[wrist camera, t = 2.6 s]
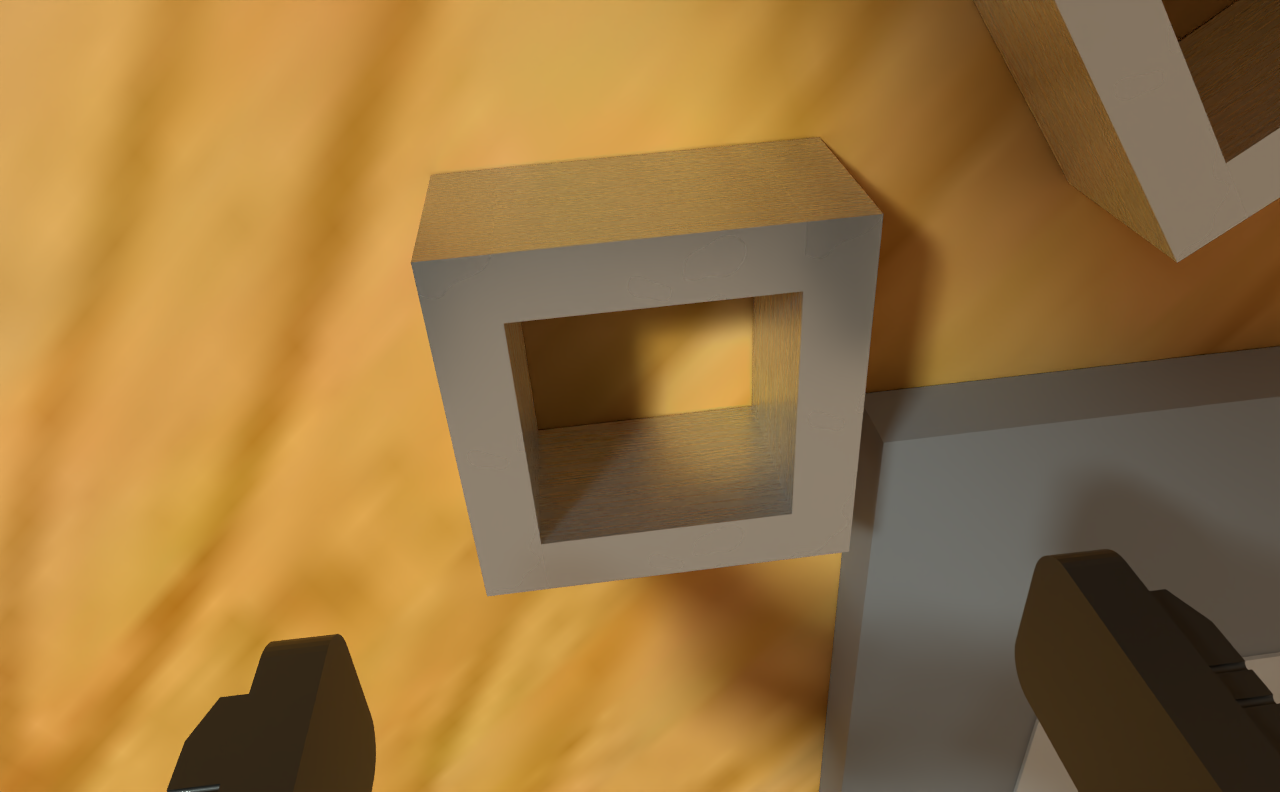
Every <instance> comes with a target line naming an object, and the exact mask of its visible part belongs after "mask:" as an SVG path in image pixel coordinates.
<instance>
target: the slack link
mask: <svg viewBox="0 0 1280 792" xmlns="http://www.w3.org/2000/svg"><path fill="white" fill-rule="evenodd" d="M973 1H974V3H975V5H976V7H977V9H978V11H979V13H980V15H981V17H982V18H983V20H984V22H985V24H986V26H987V28H988V30H989V32H990V34H991V36H992V38H993V39H994V41H995V43H996V45H997V47H998V49H999V51H1000V53H1001V55H1002V57H1003V59H1004V61H1005V62H1006V64H1007V66H1008V68H1009V70H1010V72H1011V74H1012V76H1013V78H1014V80H1015V82H1016V83H1017V85H1018V87H1019V89H1020V91H1021V93H1022V95H1023V97H1024V99H1025V101H1026V103H1027V105H1028V106H1029V108H1030V110H1031V112H1032V114H1033V116H1034V118H1035V120H1036V122H1037V124H1038V126H1039V128H1040V129H1041V131H1042V133H1043V135H1044V137H1045V139H1046V141H1047V143H1048V145H1049V147H1050V149H1051V150H1052V152H1053V154H1054V156H1055V158H1056V160H1057V162H1058V164H1059V166H1060V168H1061V170H1062V172H1063V173H1064V175H1065V177H1066V179H1067V181H1068V183H1069V184H1071V185H1072V186H1073V187H1075V188H1076V189H1078V190H1079V191H1080V192H1082V193H1083V194H1084V195H1086V196H1087V197H1088V198H1090V199H1091V200H1093V201H1094V202H1095V203H1097V204H1098V205H1099V206H1101V207H1102V208H1103V209H1105V210H1106V211H1108V212H1109V213H1110V214H1112V215H1113V216H1114V217H1116V218H1117V219H1118V220H1120V221H1121V222H1123V223H1124V224H1125V225H1127V226H1128V227H1129V228H1131V229H1132V230H1133V231H1135V232H1136V233H1137V234H1139V235H1140V236H1142V237H1143V238H1144V239H1146V240H1147V241H1148V242H1150V243H1151V244H1152V245H1154V246H1155V247H1157V248H1158V249H1159V250H1161V251H1162V252H1163V253H1165V254H1166V255H1167V256H1169V257H1170V258H1172V259H1173V260H1174V261H1176V262H1177V263H1178V262H1179V261H1181V260H1182V259H1184V258H1185V257H1187V256H1189V255H1190V254H1192V253H1193V252H1195V251H1196V250H1198V249H1200V248H1201V247H1203V246H1204V245H1206V244H1208V243H1209V242H1211V241H1212V240H1214V239H1215V238H1217V237H1219V236H1220V235H1222V234H1223V233H1225V232H1226V231H1228V230H1230V229H1231V228H1233V227H1234V226H1236V225H1237V224H1239V223H1241V222H1242V221H1244V220H1245V219H1247V218H1248V217H1250V216H1252V215H1253V214H1255V213H1256V212H1258V211H1259V210H1261V209H1263V208H1264V207H1266V206H1267V205H1269V204H1270V203H1272V202H1274V201H1275V200H1277V199H1278V198H1280V0H1238V1H1236V2H1235V3H1233V4H1232V5H1230V6H1229V7H1228V8H1226V9H1225V10H1223V11H1222V12H1221V13H1219V14H1218V15H1216V16H1215V17H1214V18H1212V19H1211V20H1209V21H1208V22H1207V23H1205V24H1204V25H1202V26H1201V27H1199V28H1198V29H1197V30H1195V31H1194V32H1192V33H1191V34H1190V35H1188V36H1187V37H1185V38H1184V39H1183V40H1181V41H1180V42H1178V41H1177V38H1176V36H1175V33H1174V31H1173V28H1172V26H1171V23H1170V20H1169V18H1168V15H1167V13H1166V10H1165V8H1164V5H1163V3H1162V0H973Z"/></svg>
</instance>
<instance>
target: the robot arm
mask: <svg viewBox="0 0 1280 792" xmlns="http://www.w3.org/2000/svg"><path fill="white" fill-rule="evenodd" d="M1015 665H1016V670H1017V675H1018V679H1019V682H1020V685H1021V688H1022V690H1023V693H1024V695H1025V697H1026V699H1027V701H1028V702H1029V704H1030V706H1031V708H1032V710H1033V711H1034V713H1035V715H1036V717H1037V719H1038V720H1039V722H1040V724H1041V726H1042V728H1043V729H1044V731H1045V733H1046V735H1047V736H1048V738H1049V740H1050V742H1051V744H1052V745H1053V747H1054V749H1055V751H1056V753H1057V754H1058V756H1059V758H1060V760H1061V762H1062V763H1063V765H1064V767H1065V769H1066V771H1067V772H1068V774H1069V776H1070V778H1071V779H1072V781H1073V783H1074V785H1075V787H1076V788H1077V790H1078V792H1280V703H1278V704H1277V703H1276V702H1275V701H1274V699H1273V693H1272V692H1271V691H1270V690H1269V689H1268V687H1267V686H1266V685H1265V684H1264V683H1263V682H1262V680H1261V679H1260V678H1259V677H1258V676H1257V674H1256V673H1255V672H1254V671H1253V670H1252V669H1250V670H1248V669H1247V668H1246V665H1245V660H1244V659H1243V658H1242V657H1241V655H1240V654H1239V653H1238V652H1237V651H1236V649H1235V648H1234V647H1233V646H1232V645H1231V643H1230V642H1229V641H1228V640H1227V639H1226V637H1225V636H1224V635H1223V634H1222V633H1221V632H1220V630H1219V629H1218V628H1217V627H1216V626H1215V624H1214V623H1213V622H1212V621H1211V620H1209V619H1208V618H1206V617H1205V616H1204V615H1202V614H1201V613H1199V612H1198V611H1196V610H1195V609H1193V608H1192V607H1191V606H1189V605H1188V604H1186V603H1185V602H1183V601H1182V600H1181V599H1179V598H1178V597H1176V596H1175V595H1173V594H1172V593H1171V592H1169V591H1168V590H1166V589H1162V590H1154V591H1149V590H1148V589H1147V587H1146V586H1145V585H1144V584H1143V582H1142V581H1141V580H1140V579H1139V577H1138V576H1137V575H1136V574H1135V572H1134V571H1133V570H1132V568H1131V567H1130V566H1129V565H1128V563H1127V562H1126V561H1125V560H1124V559H1123V558H1122V557H1121V556H1120V555H1119V554H1118V553H1117V552H1115V551H1113V550H1110V549H1099V550H1091V551H1082V552H1073V553H1064V554H1056V555H1047V556H1043V557H1041V558H1040V559H1039V560H1038V562H1037V563H1036V566H1035V569H1034V572H1033V576H1032V580H1031V584H1030V588H1029V592H1028V595H1027V599H1026V603H1025V607H1024V611H1023V615H1022V618H1021V622H1020V626H1019V630H1018V634H1017V638H1016V642H1015ZM375 762H376V744H375V732H374V725H373V721H372V717H371V714H370V711H369V708H368V705H367V702H366V699H365V696H364V693H363V691H362V688H361V685H360V682H359V679H358V676H357V673H356V670H355V667H354V665H353V662H352V659H351V656H350V653H349V650H348V647H347V645H346V642H345V640H344V638H343V637H342V636H341V635H339V634H334V635H326V636H317V637H308V638H299V639H291V640H282V641H273V642H270V643H269V644H268V645H267V646H266V647H265V649H264V651H263V653H262V655H261V658H260V661H259V664H258V667H257V670H256V674H255V677H254V680H253V683H252V686H251V689H250V692H249V694H245V695H236V696H228V697H220V698H219V699H218V701H217V702H216V703H215V704H214V706H213V707H212V708H211V709H210V711H209V712H208V713H207V714H206V716H205V717H204V718H203V719H202V721H201V722H200V723H199V724H198V726H197V727H196V728H195V729H194V731H193V732H192V733H191V734H190V736H189V737H188V738H187V739H186V741H185V743H184V745H183V748H182V751H181V753H180V756H179V759H178V762H177V764H176V767H175V770H174V772H173V775H172V778H171V780H170V783H169V786H168V788H167V792H372V786H373V780H374V773H375Z"/></svg>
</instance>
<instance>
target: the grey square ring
mask: <svg viewBox="0 0 1280 792" xmlns="http://www.w3.org/2000/svg"><path fill="white" fill-rule="evenodd" d="M882 223H883V213H882V211H881V210H880V209H879V208H878V207H877V206H876V204H875V203H874V202H873V201H872V200H871V198H870V197H869V196H868V195H867V194H866V192H865V191H864V190H863V189H862V188H861V186H860V185H859V184H858V183H857V182H856V180H855V179H854V178H853V177H852V176H851V174H850V173H849V172H848V171H847V170H846V168H845V167H844V166H843V165H842V164H841V163H840V161H839V160H838V159H837V158H836V157H835V155H834V154H833V153H832V152H831V151H830V149H829V148H828V147H827V146H826V145H825V143H824V142H823V141H822V140H821V139H820V137H816V138H806V139H796V140H786V141H775V142H765V143H755V144H745V145H734V146H724V147H714V148H703V149H693V150H683V151H673V152H662V153H652V154H642V155H632V156H621V157H611V158H601V159H590V160H580V161H570V162H560V163H549V164H539V165H529V166H519V167H508V168H498V169H488V170H478V171H467V172H457V173H447V174H436V175H431V177H430V181H429V186H428V190H427V194H426V199H425V203H424V207H423V212H422V216H421V221H420V225H419V229H418V234H417V238H416V243H415V247H414V251H413V256H412V260H411V265H412V269H413V273H414V278H415V282H416V287H417V291H418V295H419V300H420V304H421V308H422V313H423V317H424V322H425V326H426V330H427V335H428V339H429V343H430V348H431V352H432V357H433V361H434V365H435V370H436V374H437V379H438V383H439V387H440V392H441V396H442V400H443V405H444V409H445V414H446V418H447V422H448V427H449V431H450V435H451V440H452V444H453V449H454V453H455V457H456V462H457V466H458V470H459V475H460V479H461V484H462V488H463V492H464V497H465V501H466V506H467V510H468V514H469V519H470V523H471V527H472V532H473V536H474V541H475V545H476V549H477V554H478V558H479V562H480V567H481V571H482V576H483V580H484V584H485V589H486V593H487V596H494V595H502V594H510V593H518V592H526V591H534V590H542V589H550V588H558V587H567V586H575V585H583V584H591V583H599V582H607V581H615V580H623V579H631V578H639V577H647V576H655V575H664V574H672V573H680V572H688V571H696V570H704V569H712V568H720V567H728V566H736V565H744V564H752V563H761V562H769V561H777V560H785V559H793V558H801V557H809V556H817V555H825V554H833V553H841V552H849V547H850V537H851V527H852V518H853V508H854V498H855V488H856V478H857V469H858V459H859V449H860V439H861V429H862V420H863V410H864V400H865V390H866V380H867V371H868V361H869V351H870V341H871V331H872V322H873V312H874V302H875V292H876V282H877V273H878V263H879V253H880V243H881V233H882ZM746 297H754V312H753V383H752V406H748V407H739V408H730V409H721V410H713V411H704V412H695V413H686V414H678V415H669V416H660V417H651V418H642V419H634V420H625V421H616V422H607V423H598V424H590V425H581V426H572V427H563V428H555V429H546V430H538V427H537V420H536V414H535V407H534V401H533V395H532V388H531V382H530V376H529V369H528V363H527V357H526V350H525V344H524V337H523V331H522V325H521V321H531V320H540V319H550V318H559V317H568V316H578V315H587V314H596V313H606V312H615V311H624V310H634V309H643V308H652V307H662V306H671V305H680V304H690V303H699V302H708V301H718V300H727V299H736V298H746Z"/></svg>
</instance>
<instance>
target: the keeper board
mask: <svg viewBox="0 0 1280 792" xmlns="http://www.w3.org/2000/svg"><path fill="white" fill-rule="evenodd" d="M1099 549H1110V550H1113V551H1115V552H1117V553H1118V554H1119V555H1120V556H1121V557H1122V558H1123V559H1124V560H1125V561H1126V562H1127V563H1128V565H1129V566H1130V567H1131V568H1132V570H1133V571H1134V572H1135V574H1136V575H1137V576H1138V577H1139V579H1140V580H1141V581H1142V582H1143V584H1144V585H1145V586H1146V587H1147V589H1148V590H1149V591H1154V590H1162V589H1166V590H1168V591H1169V592H1171V593H1172V594H1173V595H1175V596H1176V597H1178V598H1179V599H1181V600H1182V601H1183V602H1185V603H1186V604H1188V605H1189V606H1191V607H1192V608H1193V609H1195V610H1196V611H1198V612H1199V613H1201V614H1202V615H1204V616H1205V617H1206V618H1208V619H1209V620H1211V621H1212V622H1213V623H1214V624H1215V626H1216V627H1217V628H1218V629H1219V630H1220V632H1221V633H1222V634H1223V635H1224V636H1225V637H1226V639H1227V640H1228V641H1229V642H1230V643H1231V645H1232V646H1233V647H1234V648H1235V649H1236V651H1237V652H1238V653H1239V654H1240V655H1241V657H1242V658H1243V659H1244V660H1245V665H1246V668H1247V669H1248V670H1250V669H1252V670H1253V671H1254V672H1255V673H1256V674H1257V676H1258V677H1259V678H1260V679H1261V680H1262V682H1263V683H1264V684H1265V685H1266V686H1267V687H1268V689H1269V690H1270V691H1271V692H1272V693H1273V699H1274V701H1275V702H1276V703H1277V704H1278V703H1280V346H1278V347H1269V348H1260V349H1251V350H1243V351H1234V352H1225V353H1216V354H1207V355H1199V356H1190V357H1181V358H1172V359H1163V360H1155V361H1146V362H1137V363H1128V364H1119V365H1111V366H1102V367H1093V368H1084V369H1075V370H1067V371H1058V372H1049V373H1040V374H1031V375H1023V376H1014V377H1005V378H996V379H988V380H979V381H970V382H961V383H952V384H944V385H935V386H926V387H917V388H908V389H900V390H891V391H882V392H873V393H865V400H864V410H863V420H862V429H861V439H860V449H859V459H858V469H857V478H856V488H855V498H854V508H853V518H852V527H851V537H850V547H849V552H842V558H841V569H840V579H839V590H838V600H837V611H836V621H835V632H834V642H833V652H832V663H831V673H830V684H829V694H828V705H827V715H826V725H825V736H824V746H823V757H822V767H821V778H820V788H819V792H1078V790H1077V788H1076V787H1075V785H1074V783H1073V781H1072V779H1071V778H1070V776H1069V774H1068V772H1067V771H1066V769H1065V767H1064V765H1063V763H1062V762H1061V760H1060V758H1059V756H1058V754H1057V753H1056V751H1055V749H1054V747H1053V745H1052V744H1051V742H1050V740H1049V738H1048V736H1047V735H1046V733H1045V731H1044V729H1043V728H1042V726H1041V724H1040V722H1039V720H1038V719H1037V717H1036V715H1035V713H1034V711H1033V710H1032V708H1031V706H1030V704H1029V702H1028V701H1027V699H1026V697H1025V695H1024V693H1023V690H1022V688H1021V685H1020V682H1019V679H1018V675H1017V670H1016V665H1015V642H1016V638H1017V634H1018V630H1019V626H1020V622H1021V618H1022V615H1023V611H1024V607H1025V603H1026V599H1027V595H1028V592H1029V588H1030V584H1031V580H1032V576H1033V572H1034V569H1035V566H1036V563H1037V562H1038V560H1039V559H1040V558H1041V557H1043V556H1047V555H1056V554H1064V553H1073V552H1082V551H1091V550H1099Z"/></svg>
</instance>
